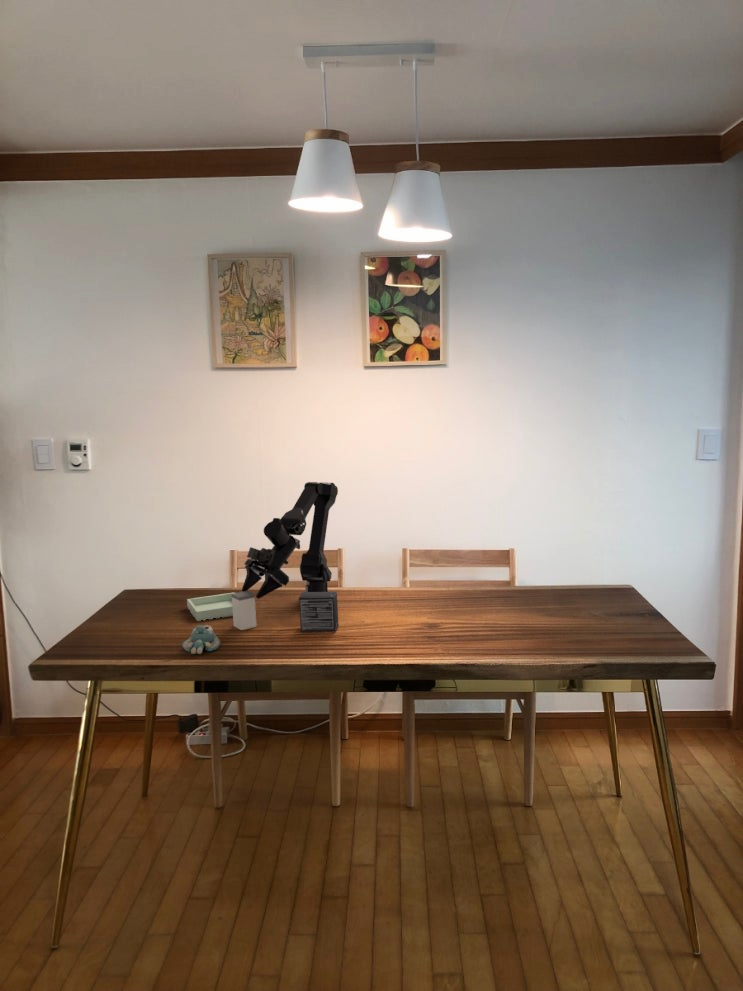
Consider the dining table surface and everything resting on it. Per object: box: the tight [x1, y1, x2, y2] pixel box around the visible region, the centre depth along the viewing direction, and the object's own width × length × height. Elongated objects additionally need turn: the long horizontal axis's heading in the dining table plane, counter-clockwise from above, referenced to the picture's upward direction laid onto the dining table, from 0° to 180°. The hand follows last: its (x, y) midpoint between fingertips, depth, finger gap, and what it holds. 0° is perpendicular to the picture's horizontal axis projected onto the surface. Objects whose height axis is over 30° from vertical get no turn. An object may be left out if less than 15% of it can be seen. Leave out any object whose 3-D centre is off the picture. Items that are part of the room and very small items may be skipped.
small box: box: [298, 591, 340, 633], centre depth 233 cm, size 11×6×10 cm, turn 84°
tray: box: [186, 592, 236, 622], centre depth 255 cm, size 16×16×3 cm
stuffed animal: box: [181, 624, 221, 655], centre depth 220 cm, size 11×7×12 cm
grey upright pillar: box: [232, 590, 257, 631], centre depth 238 cm, size 5×5×10 cm
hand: (249, 594), depth 238 cm, fingers open, 9 cm apart
